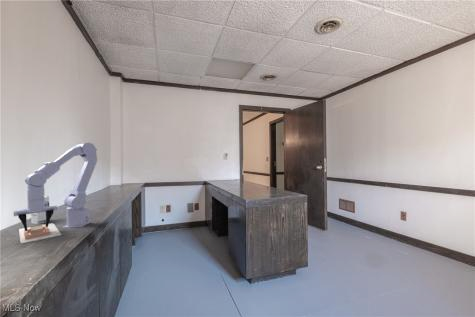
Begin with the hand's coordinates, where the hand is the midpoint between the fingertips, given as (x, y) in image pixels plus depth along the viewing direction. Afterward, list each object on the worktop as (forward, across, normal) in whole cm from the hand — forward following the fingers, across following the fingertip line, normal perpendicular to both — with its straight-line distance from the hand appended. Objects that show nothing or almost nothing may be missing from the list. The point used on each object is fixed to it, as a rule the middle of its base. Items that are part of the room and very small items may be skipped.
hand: (36, 228), depth 98 cm
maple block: (+2, 0, 0) cm, 3 cm away
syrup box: (+3, -3, -24) cm, 24 cm away
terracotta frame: (+3, 0, 0) cm, 3 cm away
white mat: (+3, -1, -3) cm, 4 cm away
